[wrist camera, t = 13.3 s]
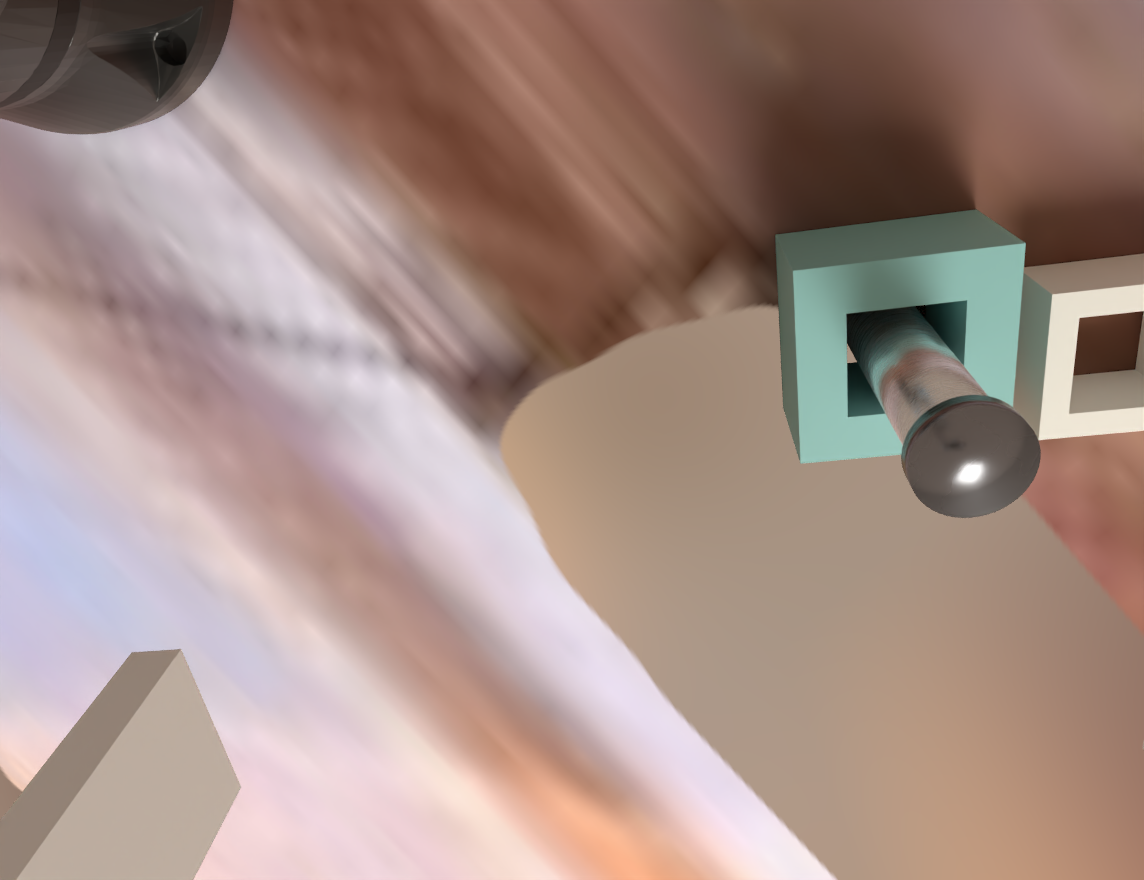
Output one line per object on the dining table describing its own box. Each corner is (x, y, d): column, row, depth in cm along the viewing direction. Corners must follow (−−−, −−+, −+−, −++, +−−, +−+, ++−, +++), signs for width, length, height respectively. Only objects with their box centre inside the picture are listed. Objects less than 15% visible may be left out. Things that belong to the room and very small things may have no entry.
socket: (783, 407, 45) (800, 463, 40) (775, 234, 41) (793, 270, 36) (966, 389, 44) (1009, 444, 39) (976, 209, 40) (1025, 243, 35)
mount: (1007, 403, 44) (1038, 440, 41) (1018, 268, 41) (1052, 294, 38) (1158, 389, 43) (1203, 425, 40) (1180, 249, 40) (1231, 274, 37)
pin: (830, 360, 44) (907, 522, 31) (829, 279, 42) (909, 414, 29) (918, 351, 44) (1035, 512, 30) (920, 268, 42) (1045, 401, 28)
